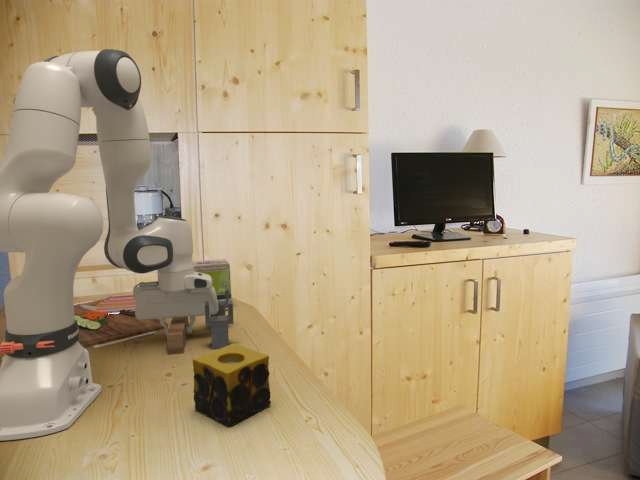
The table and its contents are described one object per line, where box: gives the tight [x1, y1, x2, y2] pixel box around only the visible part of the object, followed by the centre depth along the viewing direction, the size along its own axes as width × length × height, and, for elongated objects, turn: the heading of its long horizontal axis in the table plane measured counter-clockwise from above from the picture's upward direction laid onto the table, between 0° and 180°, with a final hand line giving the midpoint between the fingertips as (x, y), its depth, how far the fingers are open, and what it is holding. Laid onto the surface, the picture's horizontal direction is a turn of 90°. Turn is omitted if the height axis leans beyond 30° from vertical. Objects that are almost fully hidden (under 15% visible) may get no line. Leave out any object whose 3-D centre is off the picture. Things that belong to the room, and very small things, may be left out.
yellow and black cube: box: [192, 342, 272, 428], centre depth 88 cm, size 10×10×10 cm
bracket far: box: [209, 287, 230, 328], centre depth 133 cm, size 4×7×11 cm, turn 104°
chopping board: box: [74, 298, 165, 350], centre depth 140 cm, size 45×27×3 cm, turn 44°
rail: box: [166, 316, 190, 356], centre depth 124 cm, size 20×4×5 cm, turn 11°
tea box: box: [192, 258, 232, 311], centre depth 152 cm, size 15×10×15 cm, turn 108°
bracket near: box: [204, 298, 234, 350], centre depth 119 cm, size 4×7×11 cm, turn 104°
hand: (178, 333), depth 124 cm, fingers closed on rail, 4 cm apart
